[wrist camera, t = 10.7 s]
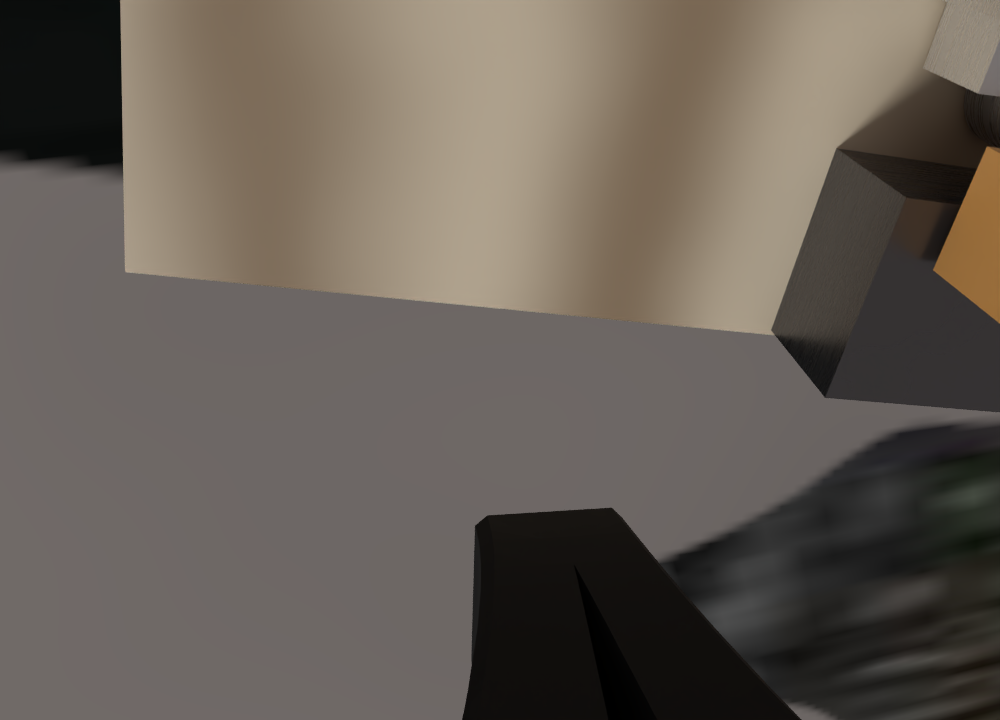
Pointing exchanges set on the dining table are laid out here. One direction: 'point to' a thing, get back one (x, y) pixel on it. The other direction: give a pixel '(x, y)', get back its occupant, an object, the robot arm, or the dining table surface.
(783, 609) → the dining table surface
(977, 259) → the block
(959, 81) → the bar
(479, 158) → the board
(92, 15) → the dining table surface
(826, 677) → the dining table surface
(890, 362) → the tongs frame
